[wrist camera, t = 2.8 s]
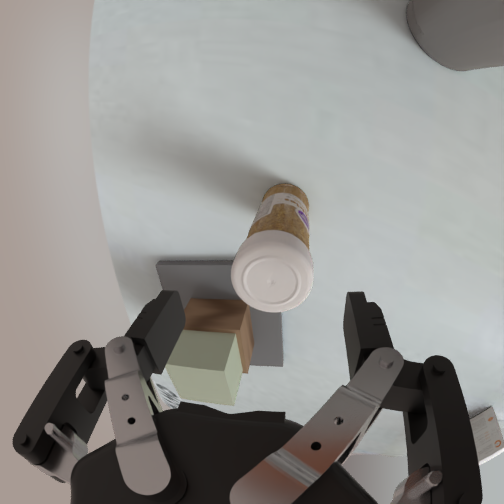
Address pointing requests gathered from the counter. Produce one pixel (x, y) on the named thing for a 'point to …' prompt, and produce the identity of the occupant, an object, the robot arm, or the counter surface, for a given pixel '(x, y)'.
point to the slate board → (220, 287)
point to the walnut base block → (223, 322)
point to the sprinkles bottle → (276, 253)
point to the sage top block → (206, 367)
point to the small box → (487, 435)
